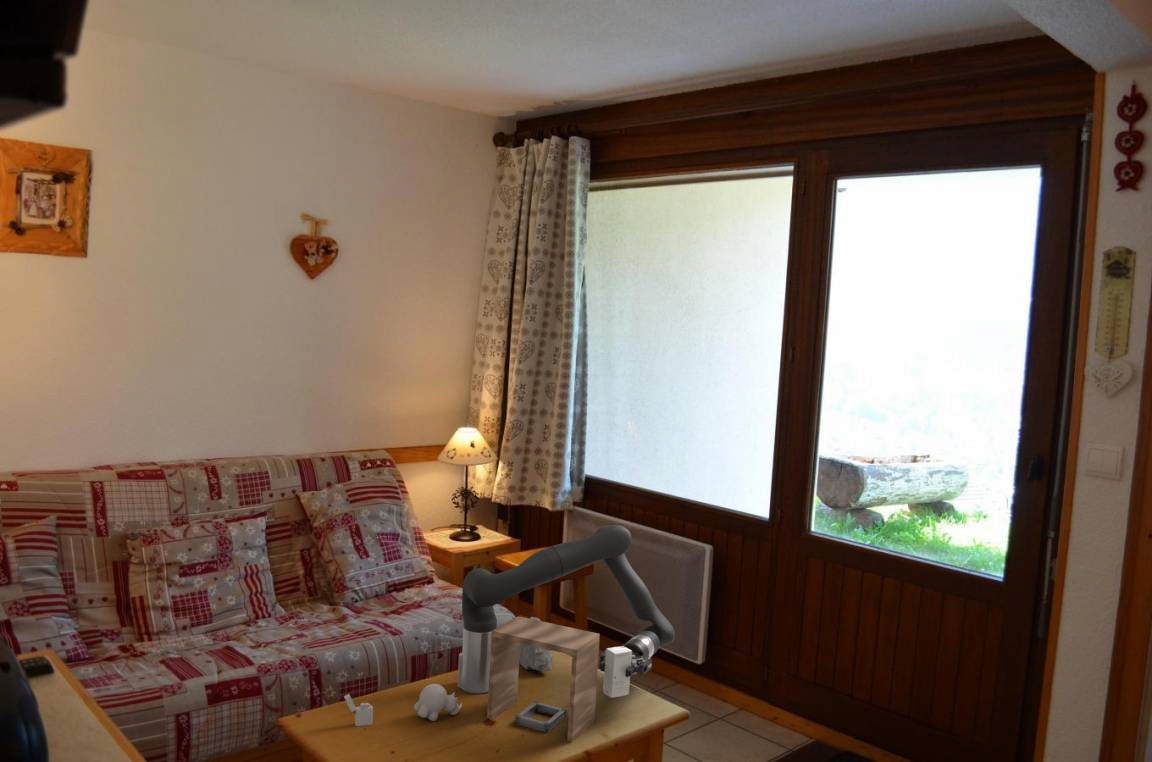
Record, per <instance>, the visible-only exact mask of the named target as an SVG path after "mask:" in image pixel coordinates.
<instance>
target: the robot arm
mask: <svg viewBox="0 0 1152 762" xmlns="http://www.w3.org/2000/svg"><path fill="white" fill-rule="evenodd" d="M632 540H633V539H632V534H631V532H630V531H629V530H628V529H627V528H626V527H624V526H622V525H619V524H608V525H602V526H601V527H599V528H597V529H596V531H595V532H594V534H593V535H590V536H588V537H585V538H582V539H578V540H572V541H571V540H570V541H567V542H562V543H559V544H554V545H551V546H549V547H546V548H543V549H540V550H537V551H536V552H533V553H532V554H531V555H529V556H528V557H527V558H525V559H524V560H523V561H522V562H521V563H519V565H517V566H515V567H513V568H511V569H509V570H505V571H501V572H499V573H498V572H497V573H492V572H490V571H489V570H487V569H485V568H474V569H472V570H470V571H469V572H468V573H467V574H466V576H465V578H464V579H463V584H462V591H461V592H462V594H461V595H462V598H461V614H462V619H463V629H462V630H463V632H462V651H461V652H460V653H459V655H458V668H457V669H458V671H457V673H458V674H457V688H460V689H461V690H462V691H464V692H466V693H470V694H485V693H488V690H489V671H490V653H491V634H492V630H494V629H496V628H498V627H497V623H498V619H497V615H496V614H495V613H496V612H495V610H494V606H495V605H498V604H500V603H501V602H503V601H505V600H507V599H509V598H511V597H513V596H515V595H517V594H520V593H521V592H524V591H527V590H530V589H532V588H535V587H538V586H540V585H543V584H546V583H549V582H552V581H555V580H557V579H559V578H562V577H564V576H567V575H569V574H572V573H573V572H577V571H578V570H580V569H583V568H584V567H587V566H589V565H591V564H592V563H595V562H598V561H602V560H603V562H604V563H605V565H607V567H608V568H609V570H610V572H611V573H612V575H613V577H614V578H615V580H616V582H617V583H618V585H619V587H620V589H621V590H622V592H623V595H624V597H625V599H626V601H627V603H628V606H629V607H630V609H631V611H632V613H633V615H634V617H635V619H636V620H637V621H640V622H641V621H642V622H644V621H645V622H646V621H647V622H651V624H648V625H646V626H643V627H641V628H640V629H639V630H638V634H637V635H636V636H633V637H632V638H630V640H628V641H627V642H626V643H624V644H623V645H622V646H624V647H626V648H628V649H630V650H632V659H631V665H630V666H629V667H628V668H627V669H626V674H625V677H629V676H630V677H632V676H633V675H636V674H637V673H638V674H639V675H641V676H644V675H645V674H646V673H648V672H649V671H650V670H652V665H653V664H652V663H653V662H652V661H653V660H652V659H651V658H652V657H653V656H654V655H655V654H656V653H657V652H658V650H659V648H662V647H665V646H668V645H670V644H672V643H674V641H675V637H676V636H675V635H676V633H675V629H674V627H673V625H672V623H671V622H670V620H668V619H667V618H666V616H664V614H663V613H662V612H661V611H660V609H659V608H658V607H657V605H656V604H655V601H654V599H653V597H652V595H651V593H650V591H649V589H648V587H647V586H646V585H645V583H644V581H643V580H642V579H641V578H640V576H639V575H638V574H637V573H636V571H635V570H634V569H633V568H632V566H631V564H630V562H629V561H628V558H627V557H626V554H625V553H626V552H627V551H628V550H629V549H630V547H631V545H632ZM605 657H606V649H605V650H603V652H602V653H601V654H600V656H599V669H600V671H601V672H604V670H605Z"/></svg>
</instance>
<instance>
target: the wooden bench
mask: <svg viewBox="0 0 1152 762" xmlns="http://www.w3.org/2000/svg"><path fill="white" fill-rule="evenodd" d="M529 618H530V617H529ZM529 618H528V617H523V616H518V615H517V616H516V617H513V618H512V619H510V620H509V621H506V622H505V623H503V624H501V625H499V626H498V627H497V628H496V629H494V630H492V634H491V653H490V671H489V690H488V692H487V694H488V695H487V712H486V714H487V715H486V720H487V719H489V720H488V721H492V720H493V718H494V717H495V718H496V717H498V716H499V715H500V714H502V713H503V712H505V711H506V710H507V709H508V707H509V708H510V707H512V706H513V705H514V704H515V703H517V701H518V689H519V673H520V672H519V671H520V664H519V656H520V643H522V644H526V645H531V646H535V647H539V648H544V649H548V650H553V652H557V653H563V654H566V655H570V656H572V657H571V672H570V689H569V706H568V721H567V722H568V725H567V742H568V743H571V744H572V743H573V742H574V741H575V740H576V739H577V738H579V736H580V735H582V734H583V733H584V732H585V731H586V730H587V729H588V728H589V727H590V726H592V724H593V723H594V722H595V718H596V717H595V716H596V700H597V699H596V698H597V686H598V683H597V682H598V671H599V670H598V667H599V654H600V652H599V651H600V639H601V638H600V633H597V632H592V631H588V630H584V629H580V628H575V627H569V626H564V625H561V624H555V623H550V622H546V621H542V620H540V621H538V620H533V619H529ZM512 704H513V705H512ZM505 709H506V710H505ZM501 712H502V713H501ZM497 715H498V716H497ZM495 718H494V719H495ZM491 719H492V720H491Z"/></svg>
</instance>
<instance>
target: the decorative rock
mask: <svg viewBox="0 0 1152 762" xmlns="http://www.w3.org/2000/svg"><path fill="white" fill-rule="evenodd" d="M529 619H533V620H538V621H541V620H540V618H538V617H534V616H531V617H529ZM553 652H554V651H553V650H548V649H544V648H539V647H535V646H531V645H526V644H522V643H520V656H519V665H521V666H522V667H523V668H524V669H525V670H527V671H529V670H536V671H541V672H542V671H543V672H550V671H551V670H552V666H553V657H554V656H553Z"/></svg>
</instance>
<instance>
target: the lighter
mask: <svg viewBox="0 0 1152 762" xmlns="http://www.w3.org/2000/svg"><path fill="white" fill-rule="evenodd" d="M343 697H344V699H345V701H346V704H347V706H348V708H349V710H350V711H351V713H353V712H354V711H355V712H354V713H355V715H354V725H355V727H364V726H371V725H373V722H374V720H373V719H374V718H373V717H374V707H373V705H371V704H370V703H368V702H361V703H360V704H359V705H360V706H356V705H355V703H354V700H353V698H352V697H351V695H350V693H348V694H346V695H344V696H343Z"/></svg>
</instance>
